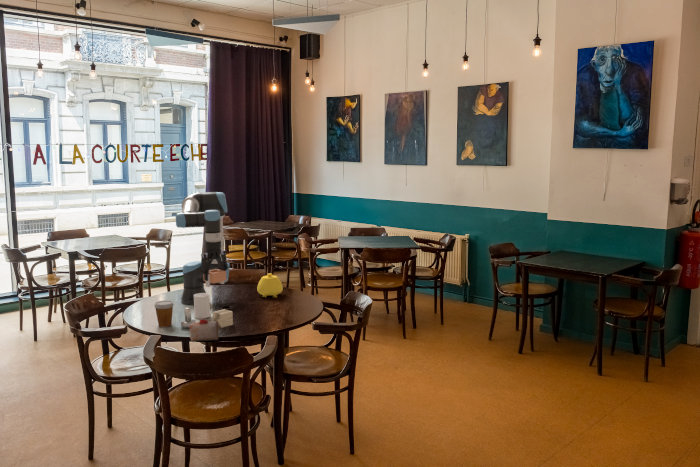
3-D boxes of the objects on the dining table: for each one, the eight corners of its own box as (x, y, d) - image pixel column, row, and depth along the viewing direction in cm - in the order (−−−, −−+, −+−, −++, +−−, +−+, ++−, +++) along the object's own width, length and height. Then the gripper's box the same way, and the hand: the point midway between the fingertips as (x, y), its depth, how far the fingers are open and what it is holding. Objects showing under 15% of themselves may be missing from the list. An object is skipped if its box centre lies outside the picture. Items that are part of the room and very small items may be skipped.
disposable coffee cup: (157, 323, 315) (156, 300, 313) (176, 322, 316) (175, 300, 314) (153, 328, 306) (152, 305, 304) (172, 327, 306) (171, 304, 305)
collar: (203, 281, 307) (203, 271, 306) (216, 278, 313) (216, 268, 312) (213, 283, 302) (213, 273, 301) (226, 280, 308) (225, 270, 307)
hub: (178, 327, 307) (177, 308, 306) (190, 324, 312) (189, 305, 311) (186, 330, 302) (185, 310, 301) (198, 327, 308) (197, 307, 306)
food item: (188, 342, 283) (187, 322, 282) (190, 337, 291) (189, 317, 290) (218, 341, 285) (217, 321, 284) (219, 336, 293) (218, 316, 292)
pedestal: (213, 325, 311) (212, 311, 310) (224, 322, 316) (224, 309, 315) (221, 327, 306) (221, 314, 305) (232, 324, 311) (232, 311, 310)
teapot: (259, 291, 383) (259, 269, 381) (284, 290, 384) (283, 269, 382) (255, 299, 364) (255, 276, 362) (281, 298, 364) (281, 276, 362)
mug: (192, 313, 332) (191, 292, 330) (207, 312, 335) (206, 290, 334) (195, 319, 321) (194, 297, 320) (211, 317, 325) (210, 295, 323)
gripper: (200, 244, 294) (202, 290, 297) (234, 239, 310) (236, 282, 313) (191, 242, 299) (193, 287, 302) (225, 237, 314) (226, 280, 318)
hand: (215, 285), depth 307 cm, fingers closed on collar, 8 cm apart
